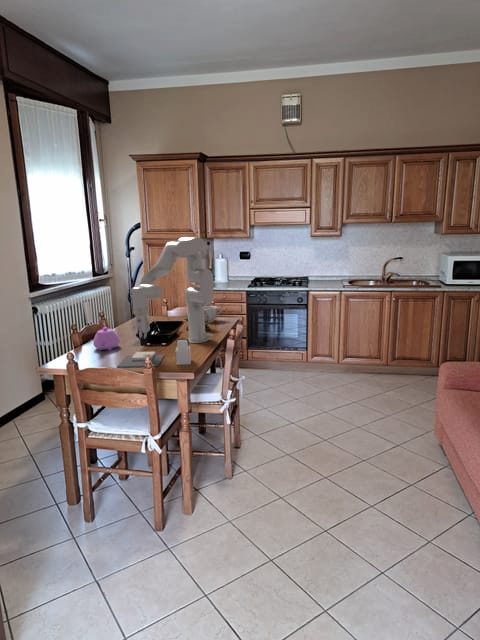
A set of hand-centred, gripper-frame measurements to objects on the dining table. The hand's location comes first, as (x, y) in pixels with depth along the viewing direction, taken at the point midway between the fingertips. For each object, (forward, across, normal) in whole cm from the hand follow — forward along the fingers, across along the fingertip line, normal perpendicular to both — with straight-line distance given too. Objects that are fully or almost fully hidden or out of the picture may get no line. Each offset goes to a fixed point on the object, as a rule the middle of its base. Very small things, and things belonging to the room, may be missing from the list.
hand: (144, 345), depth 230 cm
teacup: (+7, +77, -29) cm, 83 cm away
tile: (+5, +2, 0) cm, 6 cm away
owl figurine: (+7, +55, -22) cm, 60 cm away
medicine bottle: (+7, -11, -22) cm, 25 cm away
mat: (+6, -7, 0) cm, 10 cm away
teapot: (+7, +18, +26) cm, 32 cm away
